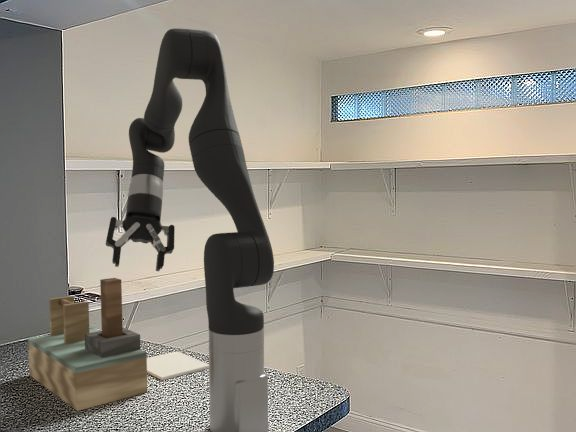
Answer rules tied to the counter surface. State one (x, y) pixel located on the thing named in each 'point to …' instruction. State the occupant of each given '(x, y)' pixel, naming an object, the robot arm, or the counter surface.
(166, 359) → the mat
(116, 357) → the wooden socket fixture
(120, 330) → the walnut key
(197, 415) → the counter surface
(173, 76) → the robot arm
